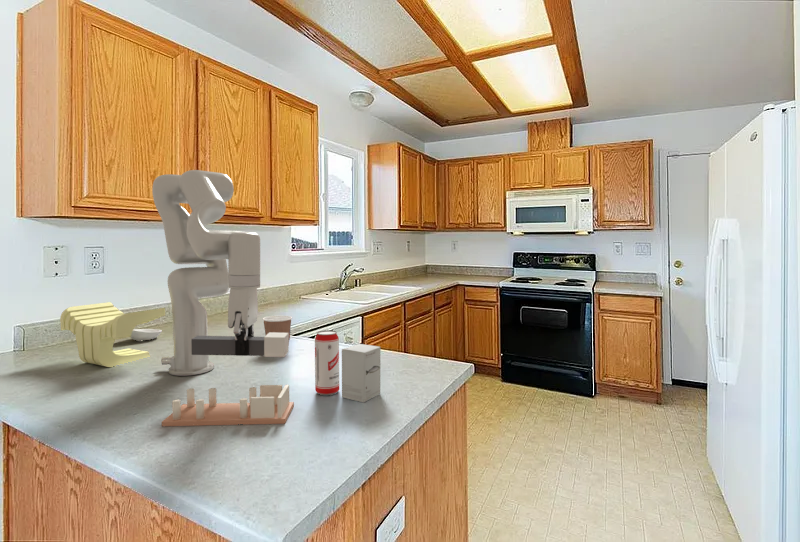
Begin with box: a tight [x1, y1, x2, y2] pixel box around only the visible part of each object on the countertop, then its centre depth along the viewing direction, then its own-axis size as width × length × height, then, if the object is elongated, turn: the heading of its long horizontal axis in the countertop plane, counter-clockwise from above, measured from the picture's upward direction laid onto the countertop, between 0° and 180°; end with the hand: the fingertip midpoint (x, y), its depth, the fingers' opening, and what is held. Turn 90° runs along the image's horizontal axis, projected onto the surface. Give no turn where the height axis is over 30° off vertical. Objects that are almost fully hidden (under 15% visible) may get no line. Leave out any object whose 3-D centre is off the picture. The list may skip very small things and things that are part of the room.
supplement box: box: [341, 343, 382, 404], centre depth 109 cm, size 7×7×13 cm
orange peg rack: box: [161, 384, 295, 427], centre depth 97 cm, size 26×10×6 cm, turn 93°
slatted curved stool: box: [59, 301, 166, 368], centre depth 141 cm, size 30×16×18 cm, turn 64°
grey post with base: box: [191, 332, 290, 358], centre depth 109 cm, size 23×5×5 cm, turn 93°
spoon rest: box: [129, 328, 162, 342], centre depth 168 cm, size 24×12×7 cm, turn 151°
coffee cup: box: [262, 315, 293, 341], centre depth 155 cm, size 10×10×12 cm
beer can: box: [314, 329, 340, 396], centre depth 112 cm, size 6×6×16 cm
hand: (244, 352), depth 109 cm, fingers closed on grey post with base, 3 cm apart
